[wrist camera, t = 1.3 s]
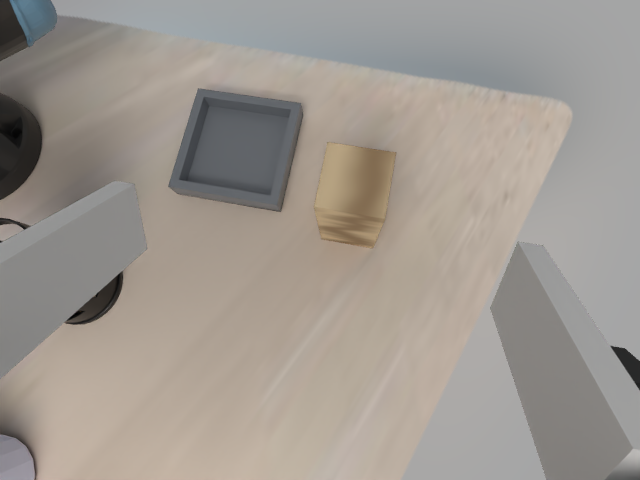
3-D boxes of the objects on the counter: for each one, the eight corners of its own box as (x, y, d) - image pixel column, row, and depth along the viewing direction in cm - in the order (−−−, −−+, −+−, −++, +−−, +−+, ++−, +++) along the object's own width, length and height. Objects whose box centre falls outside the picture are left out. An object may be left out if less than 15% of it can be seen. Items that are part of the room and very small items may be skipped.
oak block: (321, 239, 42) (313, 206, 31) (331, 191, 44) (327, 141, 32) (372, 248, 42) (385, 218, 30) (381, 199, 43) (396, 152, 31)
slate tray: (177, 193, 45) (168, 186, 42) (205, 100, 47) (198, 88, 45) (280, 211, 43) (276, 205, 41) (303, 114, 46) (300, 103, 44)
